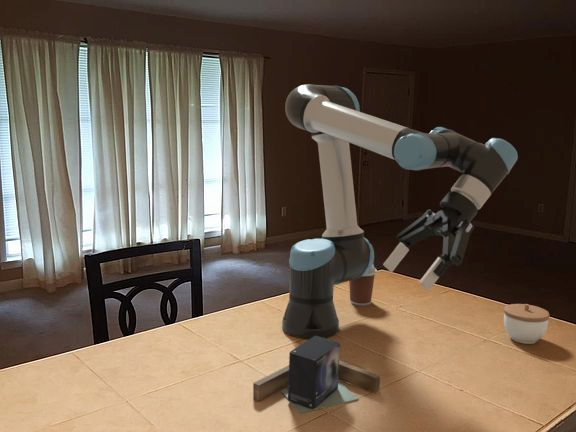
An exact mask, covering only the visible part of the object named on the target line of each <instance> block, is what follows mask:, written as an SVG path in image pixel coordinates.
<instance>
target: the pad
mask: <svg viewBox="0 0 576 432" xmlns="http://www.w3.org/2000/svg"><path fill="white" fill-rule="evenodd" d="M280 391H281V393H282V394H283V396H284V397H285V398H286V399H287V400H288V388H287V389H286V388H285V389H281V390H280ZM356 401H359V397H357V396H356V395H355V394H354V393H353V392H352V391H351V390H349V389H348V388H347V387H346V386H345V385H344V384H343V383H342V382H340V380H338V389H337V390H336V391H334V392H333V393H332V394H331V395H330V396H328V397H327V398H326V399H325V400H324V401H323V402H321V403H320V404H319V405H318V406H317V407H316V408H314V409H311V408H308V407H305V406H302V405H299V404H297V403H294V402H291V401H289V403H290V404H291V405H292V406H293V407H294V409H295V410H296V411H297V412H298V413H299V414H302V413H307V412H311V411H316V410H321V409H325V408H330V407H333V406H334V407H335V406H338V405H342V404H348V403H351V402H356Z"/></svg>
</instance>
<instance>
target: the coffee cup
mask: <svg viewBox="0 0 576 432" xmlns="http://www.w3.org/2000/svg"><path fill="white" fill-rule="evenodd" d="M377 272H378V270H377V268H376V267H375V265H374V264H373V265H372V267H371V269H370V270H369V272H368V273H367V274H365V275H364V276H361V277H360V278H358V279H356V280H350V281H348V282H349V283H348V285H349V302H350V304H353V305H355V306H359V307H360V306H368V305H369V306H370V305H371V304H372V298H373V297H372V296H373V292H374V291H373V290H374V284H375V283H374V281H375V276H376V275H377Z"/></svg>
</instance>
